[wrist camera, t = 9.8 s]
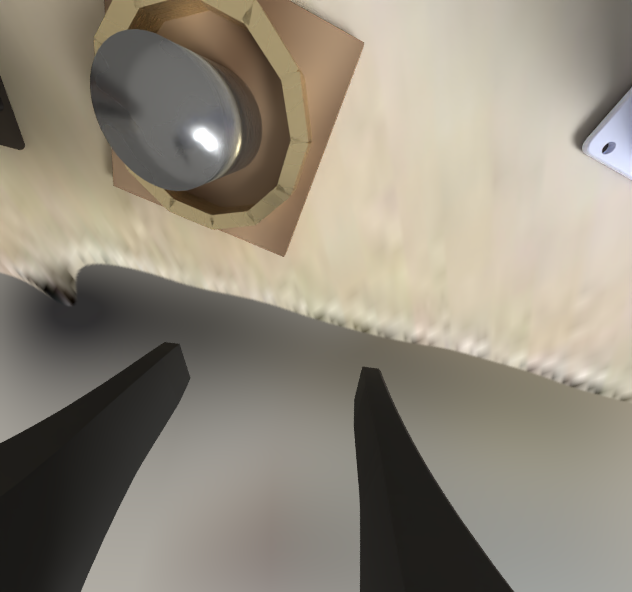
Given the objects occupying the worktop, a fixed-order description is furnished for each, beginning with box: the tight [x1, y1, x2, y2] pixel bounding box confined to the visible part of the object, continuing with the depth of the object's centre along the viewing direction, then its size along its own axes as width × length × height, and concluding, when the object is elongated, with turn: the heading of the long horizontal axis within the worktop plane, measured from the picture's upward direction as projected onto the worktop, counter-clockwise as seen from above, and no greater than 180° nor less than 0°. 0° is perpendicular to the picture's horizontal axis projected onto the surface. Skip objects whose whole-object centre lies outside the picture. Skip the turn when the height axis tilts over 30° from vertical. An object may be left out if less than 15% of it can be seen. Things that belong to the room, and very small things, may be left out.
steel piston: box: [90, 29, 262, 191], centre depth 11 cm, size 5×5×5 cm
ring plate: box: [94, 0, 364, 257], centre depth 13 cm, size 11×11×2 cm
